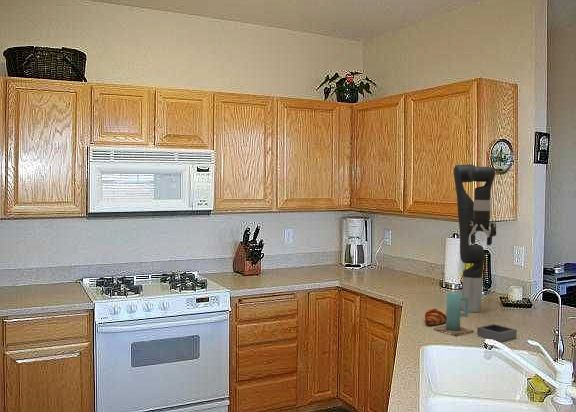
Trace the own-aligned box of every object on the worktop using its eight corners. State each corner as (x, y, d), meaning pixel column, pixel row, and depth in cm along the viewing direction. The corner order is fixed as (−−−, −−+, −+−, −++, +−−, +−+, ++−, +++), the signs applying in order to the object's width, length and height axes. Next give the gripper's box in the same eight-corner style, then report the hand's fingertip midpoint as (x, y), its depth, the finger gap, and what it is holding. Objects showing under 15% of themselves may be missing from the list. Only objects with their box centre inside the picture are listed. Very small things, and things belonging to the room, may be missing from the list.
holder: (477, 335, 239) (477, 327, 239) (493, 331, 246) (493, 323, 246) (500, 342, 230) (500, 333, 230) (516, 337, 237) (516, 329, 236)
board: (433, 330, 248) (433, 328, 248) (451, 326, 255) (451, 324, 255) (456, 336, 238) (456, 334, 238) (473, 332, 245) (473, 330, 245)
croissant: (436, 323, 273) (429, 308, 274) (455, 316, 268) (447, 300, 270) (422, 332, 254) (414, 316, 256) (442, 325, 250) (434, 308, 251)
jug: (446, 330, 244) (447, 294, 243) (445, 327, 250) (445, 291, 249) (468, 331, 242) (469, 294, 242) (466, 328, 248) (467, 292, 248)
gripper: (500, 210, 259) (499, 245, 260) (473, 208, 270) (472, 242, 271) (490, 210, 254) (489, 246, 255) (464, 209, 266) (463, 243, 267)
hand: (480, 244), depth 263 cm, fingers open, 8 cm apart
